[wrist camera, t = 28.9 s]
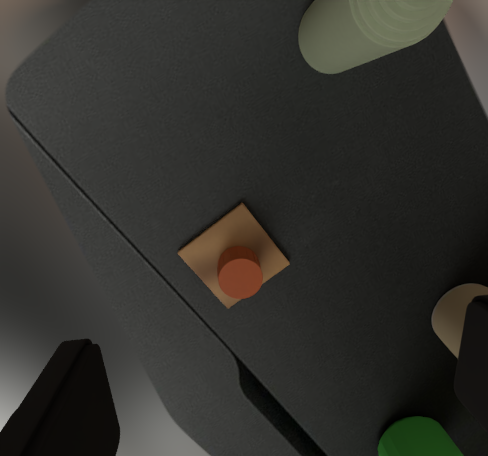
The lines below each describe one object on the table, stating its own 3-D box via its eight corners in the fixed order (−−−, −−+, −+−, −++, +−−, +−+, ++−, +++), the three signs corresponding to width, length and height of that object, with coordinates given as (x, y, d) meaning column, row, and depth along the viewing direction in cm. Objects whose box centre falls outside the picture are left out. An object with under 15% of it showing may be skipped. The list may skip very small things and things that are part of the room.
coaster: (177, 251, 33) (177, 253, 33) (242, 202, 32) (242, 203, 32) (227, 306, 35) (227, 308, 35) (289, 261, 34) (290, 263, 34)
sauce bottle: (283, 41, 28) (366, -53, 13) (330, -24, 27) (480, -207, 12) (334, 89, 30) (462, 54, 15) (381, 29, 29) (571, -75, 14)
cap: (233, 291, 34) (235, 307, 31) (209, 261, 33) (208, 275, 30) (266, 268, 34) (271, 282, 31) (242, 237, 33) (246, 249, 30)
